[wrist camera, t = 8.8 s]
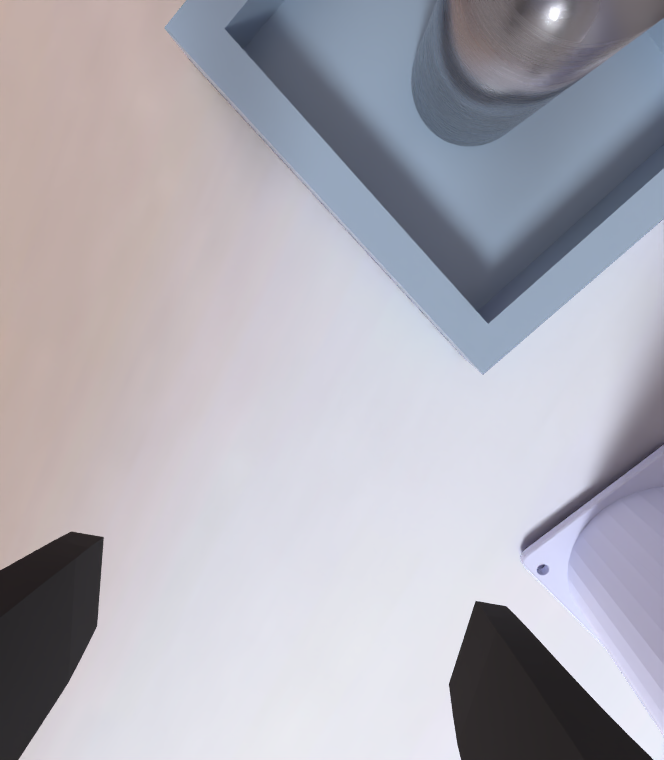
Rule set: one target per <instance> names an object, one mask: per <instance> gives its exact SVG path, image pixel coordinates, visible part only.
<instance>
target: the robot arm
mask: <svg viewBox="0 0 664 760" xmlns="http://www.w3.org/2000/svg"><path fill="white" fill-rule="evenodd" d="M103 539H104V537H100V536H94V535H88V534H82V533H76V532H70V533H68V534H66V535H64V536H62V537H60V538H58V539H56V540H54V541H52V542H51V543H49V544H47V545H45V546H43V547H42V548H40V549H38V550H36V551H34V552H33V553H31V554H29V555H27V556H25V557H24V558H22V559H20V560H18V561H16V562H15V563H13V564H11V565H9V566H8V567H6V568H4V569H2V570H0V760H18V759H19V758H20V756H21V755H22V753H23V752H24V750H25V749H26V747H27V746H28V744H29V743H30V741H31V740H32V738H33V736H34V735H35V733H36V732H37V730H38V729H39V727H40V726H41V724H42V723H43V721H44V720H45V718H46V716H47V715H48V713H49V712H50V710H51V709H52V707H53V706H54V704H55V703H56V701H57V699H58V698H59V696H60V695H61V693H62V692H63V690H64V688H65V687H66V685H67V684H68V682H69V680H70V678H71V676H72V675H73V673H74V671H75V669H76V667H77V665H78V663H79V661H80V659H81V657H82V655H83V653H84V651H85V649H86V647H87V645H88V643H89V641H90V639H91V637H92V635H93V633H94V631H95V629H96V627H97V619H98V606H99V592H100V579H101V566H102V552H103ZM520 558H521V562H522V564H523V565H524V567H525V569H526V570H527V571H528V572H529V573H530V574H531V575H532V576H533V577H534V578H535V579H536V580H537V581H538V582H539V583H540V584H541V585H542V586H543V587H544V588H545V589H546V590H547V591H548V592H549V593H550V594H551V595H552V596H553V597H554V598H555V599H556V600H557V601H558V602H559V603H560V604H561V605H562V606H563V607H564V608H565V609H566V610H567V611H568V612H569V613H570V614H571V615H572V616H573V617H574V618H575V619H576V620H577V621H578V622H579V623H580V624H581V625H582V626H583V627H584V628H585V629H586V630H587V631H588V632H589V633H590V634H591V635H592V636H593V637H594V638H595V639H596V640H597V641H598V642H599V643H600V644H601V645H602V646H603V647H604V648H605V649H606V650H607V652H608V653H609V655H610V656H611V658H612V659H613V661H614V662H615V664H616V665H617V667H618V668H619V670H620V671H621V673H622V674H623V676H624V677H625V679H626V680H627V682H628V683H629V685H630V686H631V688H632V689H633V691H634V692H635V694H636V695H637V697H638V698H639V700H640V701H641V703H642V704H643V706H644V707H645V709H646V710H647V712H648V713H649V715H650V716H651V718H652V719H653V721H654V722H655V724H656V725H657V727H658V728H659V730H660V731H661V733H662V735H663V736H664V445H663V446H661V447H660V448H659V449H657V450H656V451H655V452H653V453H652V454H651V455H649V456H648V457H647V458H645V459H644V460H643V461H641V462H640V463H639V464H637V465H636V466H635V467H633V468H632V469H631V470H629V471H628V472H627V473H626V474H624V475H623V476H622V477H620V478H619V479H618V480H616V481H615V482H614V483H612V484H611V485H610V486H608V487H607V488H606V489H604V490H603V491H602V492H600V493H599V494H598V495H596V496H595V497H594V498H592V499H591V500H590V501H588V502H587V503H586V504H585V505H583V506H582V507H581V508H579V509H578V510H577V511H575V512H574V513H573V514H571V515H570V516H569V517H567V518H566V519H565V520H563V521H562V522H561V523H559V524H558V525H557V526H555V527H554V528H553V529H551V530H550V531H549V532H547V533H546V534H545V535H544V536H542V537H541V538H540V539H538V540H537V541H536V542H534V543H533V544H532V545H530V546H529V547H528V548H526V549H525V550H524V551H523V552H522V554H521V556H520ZM542 564H545V566H544V567H543V568H541V569H537V567H538V566H539V565H542ZM449 688H450V696H451V704H452V711H453V718H454V725H455V731H456V738H457V744H458V748H459V752H460V757H461V760H653V759H652V758H651V757H650V756H649V755H648V754H647V753H646V752H645V751H644V750H643V749H642V748H641V747H640V746H639V745H638V744H637V743H636V742H635V741H634V740H633V739H632V738H631V737H630V736H629V735H628V734H627V733H626V732H625V731H624V730H623V729H622V728H621V727H620V726H619V725H618V724H617V723H616V722H615V721H614V720H613V719H612V718H611V717H610V716H609V715H608V714H607V713H606V712H605V711H604V710H603V709H602V708H601V707H600V706H599V704H598V703H597V702H596V701H595V700H594V699H593V698H592V697H591V696H590V695H589V694H588V693H587V692H586V691H585V690H584V689H583V688H582V687H581V685H580V684H579V683H578V682H577V681H576V680H575V679H574V678H573V677H572V676H571V675H570V674H569V673H568V672H567V670H566V669H565V668H564V667H563V666H562V665H561V664H560V663H559V662H558V661H557V660H556V658H555V657H554V656H553V655H552V654H551V653H550V652H549V651H548V650H547V649H546V648H545V647H544V645H543V644H542V643H541V642H540V641H539V640H538V639H537V638H536V637H535V636H534V635H533V633H532V632H531V631H530V630H529V629H528V628H527V627H526V626H525V625H524V624H523V623H522V622H521V621H520V620H519V619H518V618H517V616H516V615H515V614H514V613H513V612H512V611H511V610H510V609H508V608H507V607H506V606H501V605H496V604H490V603H484V602H478V601H476V602H475V605H474V608H473V611H472V614H471V617H470V620H469V623H468V627H467V630H466V633H465V636H464V639H463V642H462V645H461V648H460V651H459V655H458V658H457V661H456V664H455V667H454V670H453V673H452V676H451V679H450V683H449Z"/></svg>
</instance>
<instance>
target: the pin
mask: <svg viewBox="0 0 664 760" xmlns="http://www.w3.org/2000/svg"><path fill="white" fill-rule="evenodd" d="M663 18H664V0H437V1H436V3H435V6H434V8H433V11H432V14H431V16H430V19H429V22H428V24H427V27H426V30H425V32H424V35H423V38H422V40H421V43H420V45H419V48H418V51H417V53H416V56H415V59H414V63H413V68H412V75H411V87H412V95H413V100H414V104H415V106H416V109H417V112H418V114H419V116H420V118H421V119H422V121H423V122H424V124H425V125H426V126H427V127H428V128H429V129H430V131H432V132H433V133H434V134H435V135H436V136H438V137H439V138H441V139H442V140H444V141H446V142H449V143H451V144H455V145H459V146H480V145H484V144H487V143H491V142H493V141H495V140H497V139H499V138H500V137H502V136H504V135H505V134H507V133H508V132H509V131H511V130H512V129H513V128H515V127H516V126H517V125H519V124H520V123H522V122H523V121H524V120H526V119H527V118H528V117H530V116H531V115H532V114H534V113H535V112H537V111H538V110H539V109H541V108H542V107H543V106H545V105H546V104H547V103H549V102H550V101H552V100H553V99H554V98H556V97H557V96H558V95H560V94H561V93H562V92H564V91H565V90H567V89H568V88H569V87H571V86H572V85H573V84H575V83H576V82H577V81H579V80H580V79H582V78H583V77H584V76H586V75H587V74H588V73H590V72H591V71H592V70H594V69H595V68H597V67H598V66H599V65H601V64H602V63H603V62H605V61H606V60H607V59H609V58H610V57H612V56H613V55H614V54H616V53H617V52H618V51H620V50H621V49H622V48H624V47H625V46H627V45H628V44H629V43H631V42H632V41H633V40H635V39H636V38H637V37H639V36H640V35H642V34H643V33H644V32H646V31H647V30H648V29H650V28H651V27H652V26H654V25H655V24H657V23H658V22H659V21H661V20H662V19H663Z"/></svg>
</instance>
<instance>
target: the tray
mask: <svg viewBox="0 0 664 760" xmlns="http://www.w3.org/2000/svg"><path fill="white" fill-rule="evenodd" d="M436 1H437V0H186V2H185V3H184V4H183V5H182V6H181V8H180V9H179V10H178V11H177V13H176V14H175V15H174V16H173V18H172V19H171V20H170V21H169V23H168V24H167V25H166V26H165V29H166V31H167V32H168V33H169V34H170V36H171V37H172V38H173V39H174V41H175V42H176V43H177V45H178V46H179V47H180V48H181V50H182V51H183V52H184V53H185V55H186V56H187V57H188V58H189V60H190V61H191V62H192V63H193V64H194V65H195V66H196V67H197V69H198V70H199V71H200V72H201V73H202V74H203V75H204V76H205V77H206V78H207V79H208V80H209V82H210V83H211V84H212V85H213V86H214V87H215V88H216V89H217V90H218V91H219V92H220V94H221V95H222V96H223V97H224V98H225V99H226V100H227V101H228V102H229V103H230V104H231V105H232V107H233V108H234V109H235V110H236V111H237V112H238V113H239V114H240V115H241V116H242V117H243V119H244V120H245V121H246V122H247V123H248V124H249V125H250V126H251V127H252V128H253V129H254V130H255V132H256V133H257V134H258V135H259V136H260V137H261V138H262V139H263V140H264V141H265V142H266V143H267V145H268V146H269V147H270V148H271V149H272V150H273V151H274V152H275V153H276V154H277V155H278V157H279V158H280V159H281V160H282V161H283V162H284V163H285V164H286V165H287V166H288V167H289V168H290V170H291V171H292V172H293V173H294V174H295V175H296V176H297V177H298V178H299V179H300V180H301V181H302V183H303V184H304V185H305V186H306V187H307V188H308V189H309V190H310V191H311V192H312V193H313V195H314V196H315V197H316V198H317V199H318V200H319V201H320V202H321V203H322V204H323V205H324V206H325V208H326V209H327V210H328V211H329V212H330V213H331V214H332V215H333V216H334V217H335V218H336V220H337V221H338V222H339V223H340V224H341V225H342V226H343V227H344V228H345V229H346V230H347V231H348V233H349V234H350V235H351V236H352V237H353V238H354V239H355V240H356V241H357V242H358V243H359V244H360V246H361V247H362V248H363V249H364V250H365V251H366V252H367V253H368V254H369V255H370V256H371V258H372V259H373V260H374V261H375V262H376V263H377V264H378V265H379V266H380V267H381V268H382V269H383V271H384V272H385V273H386V274H387V275H388V276H389V277H390V278H391V279H392V280H393V281H394V282H395V284H396V285H397V286H398V287H399V288H400V289H401V290H402V291H403V292H404V293H405V294H406V296H407V297H408V298H409V299H410V300H411V301H412V302H413V303H414V304H415V305H416V306H417V307H418V309H419V310H420V311H421V312H422V313H423V314H424V315H425V316H426V317H427V318H428V319H429V320H430V322H431V323H432V324H433V325H434V326H435V327H436V328H437V329H438V330H439V331H440V332H441V334H442V335H443V336H444V337H445V338H446V339H447V340H448V341H449V342H450V343H451V344H452V345H453V347H454V348H455V349H456V350H457V351H458V352H459V353H460V354H461V355H462V356H463V357H464V358H465V359H466V360H467V361H468V362H469V363H470V364H471V365H472V366H474V367H475V368H476V369H477V370H478V371H479V372H480V373H482V374H484V373H486V372H487V371H488V370H489V369H490V368H491V367H493V366H494V365H495V364H496V363H497V362H498V361H500V360H501V359H502V358H503V357H504V356H505V355H506V354H508V353H509V352H510V351H511V350H512V349H513V348H515V347H516V346H517V345H518V344H519V343H520V342H522V341H523V340H524V339H525V338H526V337H527V336H529V335H530V334H531V333H532V332H533V331H534V330H535V329H537V328H538V327H539V326H540V325H541V324H542V323H544V322H545V321H546V320H547V319H548V318H549V317H551V316H552V315H553V314H554V313H555V312H556V311H557V310H559V309H560V308H561V307H562V306H563V305H564V304H566V303H567V302H568V301H569V300H570V299H571V298H573V297H574V296H575V295H576V294H577V293H578V292H580V291H581V290H582V289H583V288H584V287H585V286H586V285H588V284H589V283H590V282H591V281H592V280H593V279H595V278H596V277H597V276H598V275H599V274H600V273H602V272H603V271H604V270H605V269H606V268H607V267H609V266H610V265H611V264H612V263H613V262H614V261H615V260H617V259H618V258H619V257H620V256H621V255H622V254H624V253H625V252H626V251H627V250H628V249H629V248H631V247H632V246H633V245H634V244H635V243H636V242H637V241H639V240H640V239H641V238H642V237H643V236H644V235H646V234H647V233H648V232H649V231H650V230H651V229H653V228H654V227H655V226H656V225H657V224H658V223H660V222H661V221H662V220H663V219H664V18H663V19H662V20H661V21H659V22H658V23H657V24H655V25H654V26H652V27H651V28H650V29H648V30H647V31H646V32H644V33H643V34H642V35H640V36H639V37H637V38H636V39H635V40H633V41H632V42H631V43H629V44H628V45H627V46H625V47H624V48H622V49H621V50H620V51H618V52H617V53H616V54H614V55H613V56H612V57H610V58H609V59H607V60H606V61H605V62H603V63H602V64H601V65H599V66H598V67H597V68H595V69H594V70H592V71H591V72H590V73H588V74H587V75H586V76H584V77H583V78H582V79H580V80H579V81H577V82H576V83H575V84H573V85H572V86H571V87H569V88H568V89H567V90H565V91H564V92H562V93H561V94H560V95H558V96H557V97H556V98H554V99H553V100H552V101H550V102H549V103H547V104H546V105H545V106H543V107H542V108H541V109H539V110H538V111H537V112H535V113H534V114H532V115H531V116H530V117H528V118H527V119H526V120H524V121H523V122H522V123H520V124H519V125H517V126H516V127H515V128H513V129H512V130H511V131H509V132H508V133H507V134H505V135H504V136H502V137H500V138H499V139H497V140H495V141H493V142H491V143H487V144H484V145H480V146H459V145H455V144H451V143H449V142H446V141H444V140H442V139H441V138H439V137H438V136H436V135H435V134H434V133H433V132H432V131H430V129H429V128H428V127H427V126H426V125H425V124H424V122H423V121H422V119H421V118H420V116H419V114H418V112H417V109H416V106H415V104H414V100H413V95H412V87H411V75H412V68H413V63H414V59H415V56H416V53H417V51H418V48H419V45H420V43H421V40H422V38H423V35H424V32H425V30H426V27H427V24H428V22H429V19H430V16H431V14H432V11H433V8H434V6H435V3H436Z"/></svg>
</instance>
